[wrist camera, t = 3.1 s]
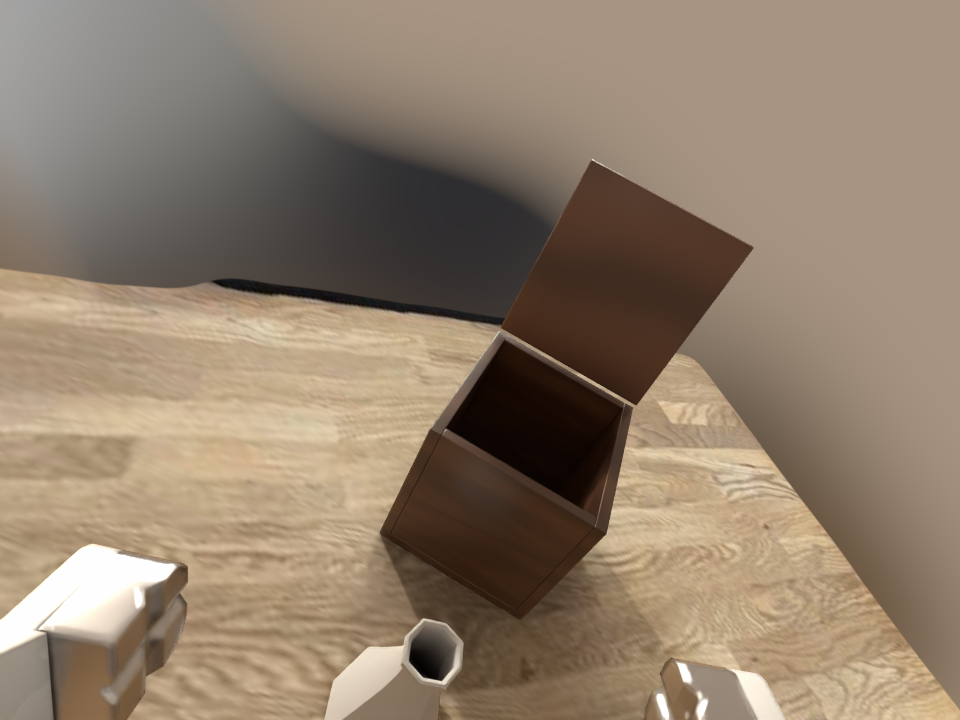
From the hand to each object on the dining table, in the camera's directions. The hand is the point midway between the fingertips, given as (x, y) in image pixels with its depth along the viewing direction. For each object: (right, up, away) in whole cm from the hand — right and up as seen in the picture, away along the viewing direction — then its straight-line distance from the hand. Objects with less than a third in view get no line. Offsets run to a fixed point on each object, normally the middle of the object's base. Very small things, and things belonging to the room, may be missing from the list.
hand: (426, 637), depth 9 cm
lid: (+11, +10, +31) cm, 34 cm away
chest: (+1, -9, +37) cm, 38 cm away
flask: (-5, -17, +24) cm, 30 cm away
